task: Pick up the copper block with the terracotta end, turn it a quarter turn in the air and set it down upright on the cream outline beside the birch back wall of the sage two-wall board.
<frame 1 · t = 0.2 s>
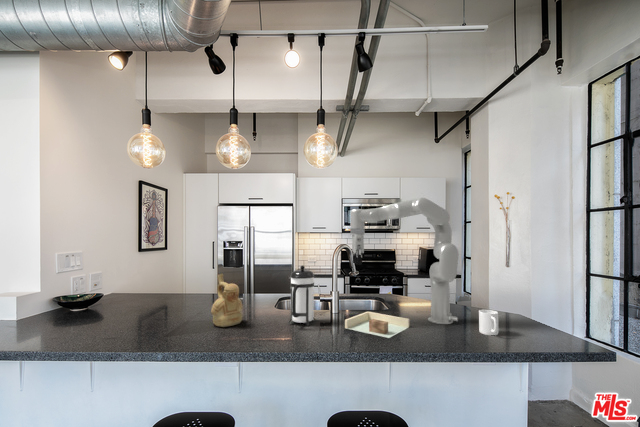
hand: (357, 263, 182), 31 cm above the countertop, tool pointing down, fingers open, 9 cm apart
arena: (377, 328, 169), on the countertop
cup: (490, 334, 160), on the countertop
copper block: (378, 331, 162), resting on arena
coffee press: (301, 323, 177), on the countertop
ceramic vessel: (226, 324, 176), on the countertop
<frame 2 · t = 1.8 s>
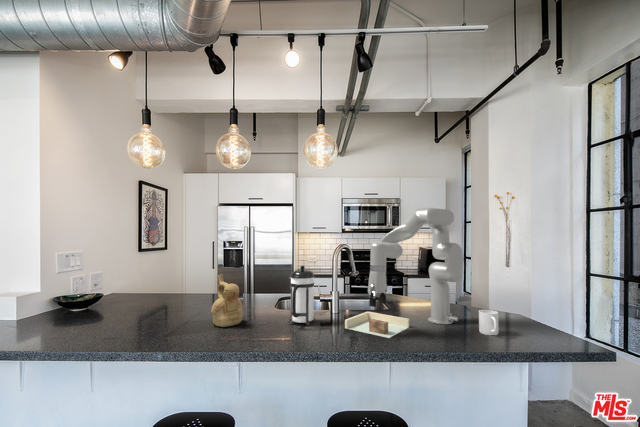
hand: (377, 304, 162), 13 cm above the countertop, tool pointing down, fingers open, 9 cm apart
nothing on the countertop moved.
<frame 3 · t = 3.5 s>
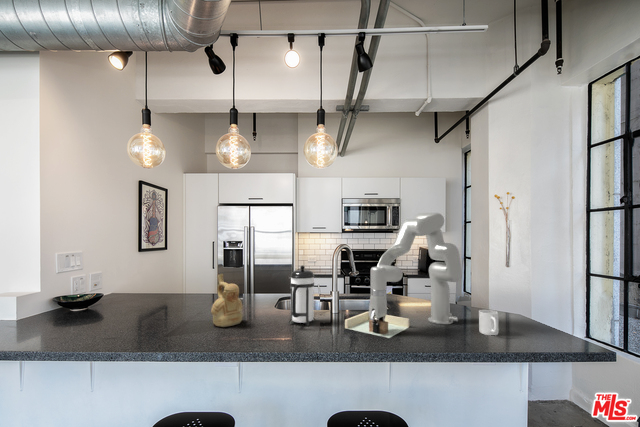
hand: (378, 331, 162), 1 cm above the countertop, tool pointing down, fingers closed on copper block, 4 cm apart
copper block: (378, 331, 162), point 1 cm above the countertop, touching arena, gripper
everything else where it was.
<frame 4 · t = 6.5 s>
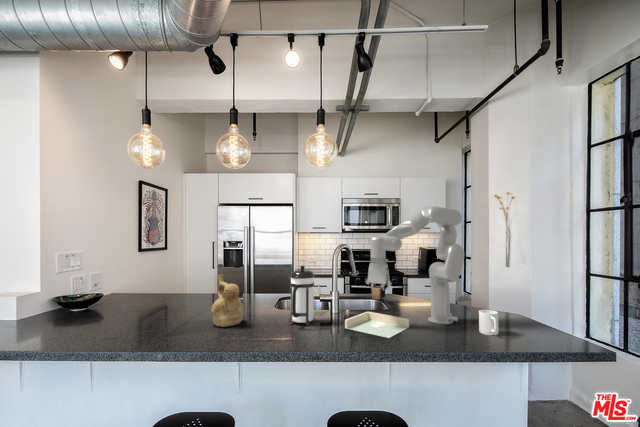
hand: (378, 296, 173), 15 cm above the countertop, tool pointing down, fingers closed on copper block, 4 cm apart
copper block: (378, 297, 173), point 15 cm above the countertop, touching gripper
everything else where it was.
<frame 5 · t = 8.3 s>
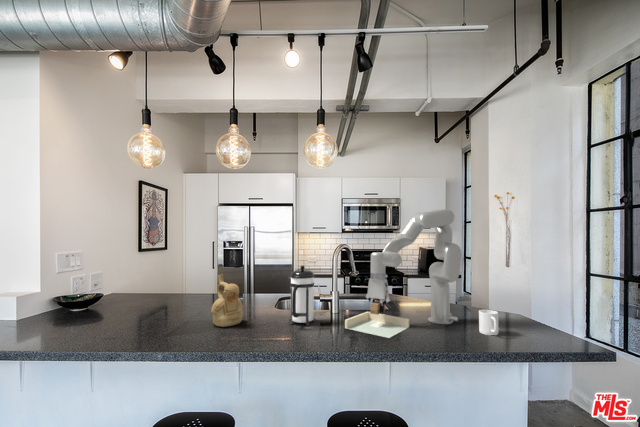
hand: (377, 312, 174), 7 cm above the countertop, tool pointing down, fingers closed on copper block, 4 cm apart
copper block: (377, 312, 174), point 7 cm above the countertop, touching gripper
everything else where it was.
when the fingers open (2 cm above the countertop, at t = 9.6 s): copper block stays where it is, resting on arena.
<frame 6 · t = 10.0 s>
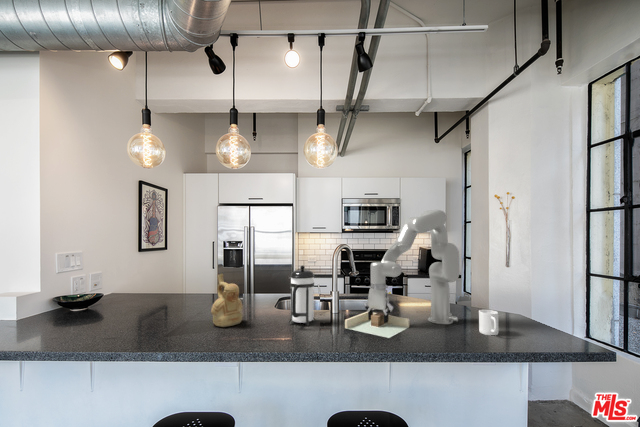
hand: (378, 320, 174), 3 cm above the countertop, tool pointing down, fingers open, 8 cm apart
copper block: (378, 324, 174), point 1 cm above the countertop, touching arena
everything else where it was.
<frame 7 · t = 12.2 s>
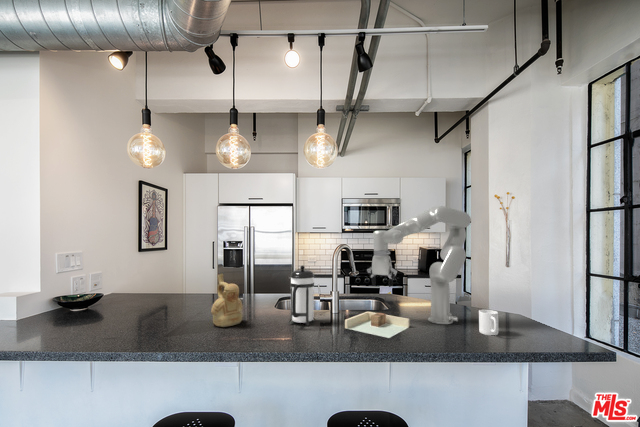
hand: (382, 285, 181), 19 cm above the countertop, tool pointing down, fingers open, 9 cm apart
nothing on the countertop moved.
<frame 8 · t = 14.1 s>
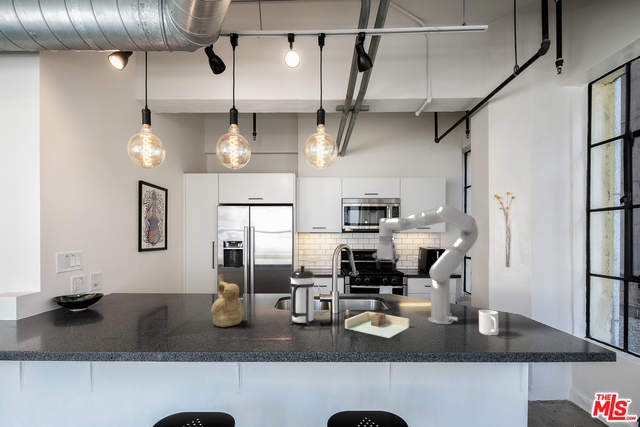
hand: (386, 269, 194), 26 cm above the countertop, tool pointing down, fingers open, 9 cm apart
nothing on the countertop moved.
at the end: copper block 0.1 cm from the target spot, point 0.6 cm above the countertop; copper block tilted 0°; the gripper is holding nothing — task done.
